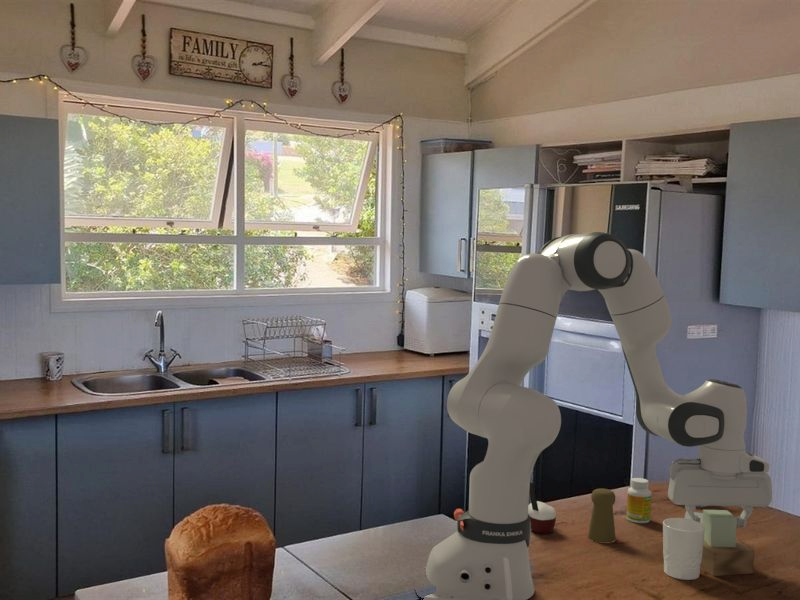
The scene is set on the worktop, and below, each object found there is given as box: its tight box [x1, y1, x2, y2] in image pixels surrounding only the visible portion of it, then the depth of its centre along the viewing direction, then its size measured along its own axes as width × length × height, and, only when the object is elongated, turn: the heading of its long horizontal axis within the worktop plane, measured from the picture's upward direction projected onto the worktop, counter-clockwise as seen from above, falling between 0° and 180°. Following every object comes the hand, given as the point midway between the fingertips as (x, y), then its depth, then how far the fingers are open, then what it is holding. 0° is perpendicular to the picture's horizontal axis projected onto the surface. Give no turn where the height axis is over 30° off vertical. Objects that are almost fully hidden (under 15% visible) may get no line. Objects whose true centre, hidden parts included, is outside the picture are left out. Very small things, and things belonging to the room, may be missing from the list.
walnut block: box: [700, 539, 755, 577], centre depth 166 cm, size 9×9×5 cm
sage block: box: [702, 509, 738, 547], centre depth 166 cm, size 5×5×6 cm
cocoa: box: [528, 481, 557, 535], centre depth 184 cm, size 10×6×12 cm, turn 111°
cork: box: [587, 488, 617, 543], centre depth 181 cm, size 6×6×11 cm
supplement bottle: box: [626, 477, 652, 524], centre depth 194 cm, size 5×5×10 cm
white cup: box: [662, 517, 705, 581], centre depth 162 cm, size 8×8×10 cm
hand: (717, 526), depth 167 cm, fingers open, 8 cm apart
